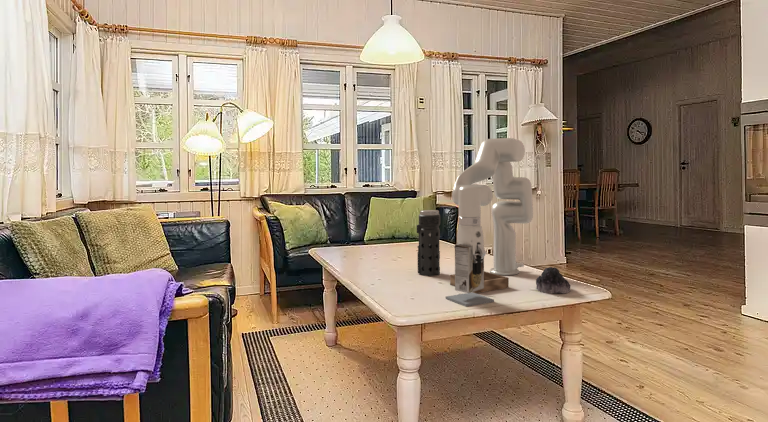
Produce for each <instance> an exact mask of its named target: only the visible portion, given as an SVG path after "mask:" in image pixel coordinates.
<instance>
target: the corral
mask: <svg viewBox="0 0 768 422" xmlns="http://www.w3.org/2000/svg"><path fill="white" fill-rule="evenodd" d="M449 276H450V277H449V278H450V279H449V280H450V283H449V285H450V286H452V287H455V273H454V274H450V275H449ZM509 281H510V279H509V277H508V276H507V277H506V276H505V275H498V274H493V273H491V272H490V271H489V272H488V271H485V270H484V288H483V289H480V290H477V291H474V292H473V293H476V294H478V293H479V294H481V293H484V292H491V291H499V290H503V289H504V290H505V289H509Z"/></svg>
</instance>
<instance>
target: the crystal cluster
mask: <svg viewBox="0 0 768 422" xmlns="http://www.w3.org/2000/svg"><path fill="white" fill-rule="evenodd" d="M535 284H536V288H535V289H536V290H537V292H539V291H540V293H546V294H568V293H569V292H571V284H570V282H569V281H568V279H566V278H565V277H564V276H563V274H561V272H560V270H559V269H558V268H557V267H556V266H555V267H551V266H550V267H546V268H544V269H543V271H542V272H541V274H540V275H539V276H537V278H536V279H535Z"/></svg>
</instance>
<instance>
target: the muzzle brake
mask: <svg viewBox="0 0 768 422" xmlns="http://www.w3.org/2000/svg"><path fill="white" fill-rule="evenodd" d="M440 225H441V214H440V211H439V210H438V209H424V210H423V209H422V210H420V211H419V214H418V224H416V233H417V234H418V245H417V274H419V275H420V276H423V277H424V276H425V277H436V276H439V275H441V267H440V264H441V263H440V262H441V261H440V259H441V254H440V253H441V251H440V238H441V233H440V232H441V230H440V228H439V226H440Z"/></svg>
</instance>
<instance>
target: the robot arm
mask: <svg viewBox="0 0 768 422" xmlns="http://www.w3.org/2000/svg"><path fill="white" fill-rule="evenodd" d="M525 153H526V149H525V145H524V143H523V142H522V141H521V140H519V139H516V138H513V137H502V138H497V137H496V138H488V139H487V138H486V139H485V140H483V141H482V142H481V144H480V146H479V148H478V151H477V154H476V158H475V159H474V160H475V161H474V163H473V164H472V165H470V166H469V167H467V168H466V169H464V170H463V171H462V172H460V174H459V175H458V176H457V178H456V180H455V183H454V185H453V188H452V192H451V193H452V194H451V198H452V202H454V204H455V205H457V206H458V227H457V234H456V244H455V245H458V244H463V245H467V246H471V247H472V255H473V260H474V263H473V274H474V275H475V274H481V262H482V260H483V259H484V260H485V256H486V255H487V252H486V250H485V241H484V240H485V239H484V238H485V237H484V233H483V227H482V226H481V223H482V222H481V213H482V212H481V209H482V208H481V207H486V206H488V205H490V204H491V202H492V201H493V198H494V196H495V198H496V199H498V200H499V199H500V201H496V202H495V203H494V204H493V205H492V206H491V217H492V223H493V267H491V268H490V269H489V273H493V274H496V275H500V276H515V275H518V274H520V270H519V268H523V267H524V266H525V264H524V262H518V261H516V259H517V254H516V252H517V247H516V246H517V233H516V230H515V229H514V227H513V226H512V224H525V225H526V224H529V223H531V222H532V220H533V218H534V207H533V205H534V204H533V187H532V182H531V180H530V179H529V178H527V177H522V176H521V177H520V176H519V177H517V176H516V177H515V176H514V174H513V164H512V162H513V163H514V162H515V163H516V162H518V163H519V162H522V160H524V158H525V157H524V156H525ZM489 178H492V187H493V190H492V188H491V187H490V186H488V185H486V184H476V183H479V182H482V181H485V180H488V179H489ZM513 200H517V201H513ZM455 245H454V246H453V248H454V249H455ZM475 251H476V252H477V253H476V254H475ZM476 256H478V257H477V259H476Z"/></svg>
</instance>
